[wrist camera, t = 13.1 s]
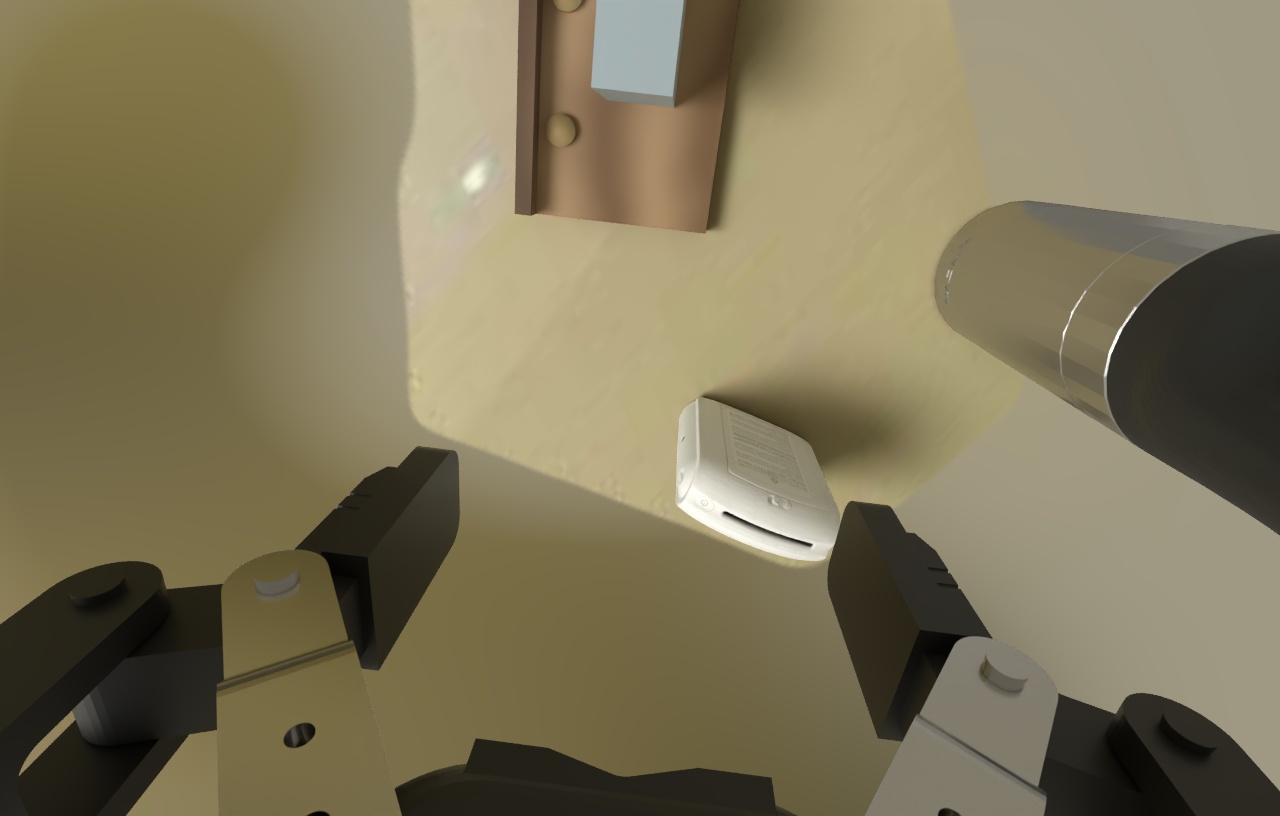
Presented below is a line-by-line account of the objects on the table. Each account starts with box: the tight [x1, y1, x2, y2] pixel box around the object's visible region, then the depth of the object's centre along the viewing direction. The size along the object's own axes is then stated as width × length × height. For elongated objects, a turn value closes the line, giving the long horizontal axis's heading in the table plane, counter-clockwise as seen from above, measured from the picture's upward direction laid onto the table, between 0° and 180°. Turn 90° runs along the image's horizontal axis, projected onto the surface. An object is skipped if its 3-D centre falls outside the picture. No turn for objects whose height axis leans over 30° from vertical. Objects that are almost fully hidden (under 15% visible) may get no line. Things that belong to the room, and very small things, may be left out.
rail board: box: [515, 0, 739, 233], centre depth 34 cm, size 12×17×4 cm
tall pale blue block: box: [591, 0, 687, 108], centre depth 30 cm, size 4×8×7 cm, turn 174°
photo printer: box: [676, 397, 840, 561], centre depth 39 cm, size 10×4×12 cm, turn 67°
